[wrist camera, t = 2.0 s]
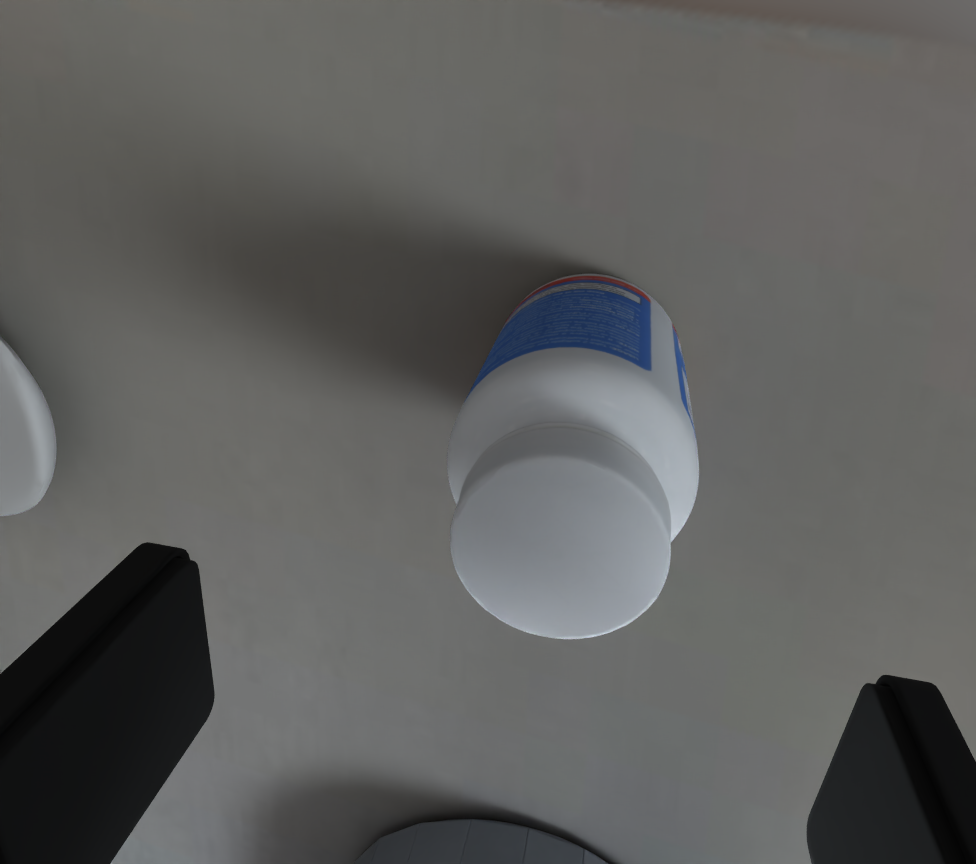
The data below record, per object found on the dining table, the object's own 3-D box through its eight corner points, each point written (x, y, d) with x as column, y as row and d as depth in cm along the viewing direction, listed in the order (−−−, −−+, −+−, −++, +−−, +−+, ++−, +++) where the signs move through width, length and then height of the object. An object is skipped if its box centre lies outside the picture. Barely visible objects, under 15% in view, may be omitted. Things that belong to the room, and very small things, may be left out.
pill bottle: (463, 354, 22) (347, 530, 14) (593, 229, 20) (553, 345, 11) (585, 474, 23) (550, 708, 14) (723, 368, 21) (779, 574, 12)
